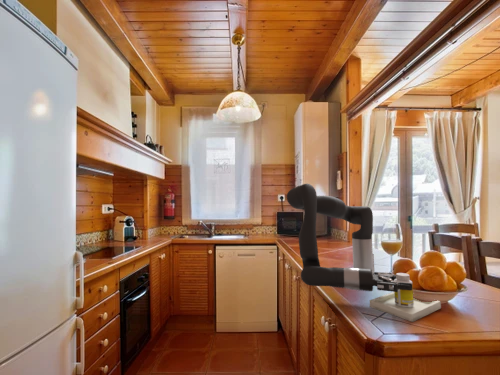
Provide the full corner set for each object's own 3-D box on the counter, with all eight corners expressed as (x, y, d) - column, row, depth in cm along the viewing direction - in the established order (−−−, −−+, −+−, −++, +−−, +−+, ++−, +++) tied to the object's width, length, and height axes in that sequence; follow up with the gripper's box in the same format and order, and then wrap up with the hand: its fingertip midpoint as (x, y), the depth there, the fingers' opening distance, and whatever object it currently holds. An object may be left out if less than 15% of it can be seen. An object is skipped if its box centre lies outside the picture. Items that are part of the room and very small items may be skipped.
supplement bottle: (417, 306, 89) (415, 275, 89) (406, 309, 86) (405, 277, 87) (401, 300, 94) (400, 271, 94) (391, 303, 91) (389, 273, 92)
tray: (398, 296, 101) (398, 290, 101) (440, 308, 89) (440, 301, 89) (369, 306, 91) (369, 300, 91) (412, 321, 79) (412, 314, 79)
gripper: (357, 273, 89) (413, 277, 83) (357, 263, 102) (405, 266, 97) (358, 296, 89) (414, 301, 83) (357, 283, 102) (406, 287, 96)
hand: (409, 282), depth 90 cm, fingers open, 8 cm apart
